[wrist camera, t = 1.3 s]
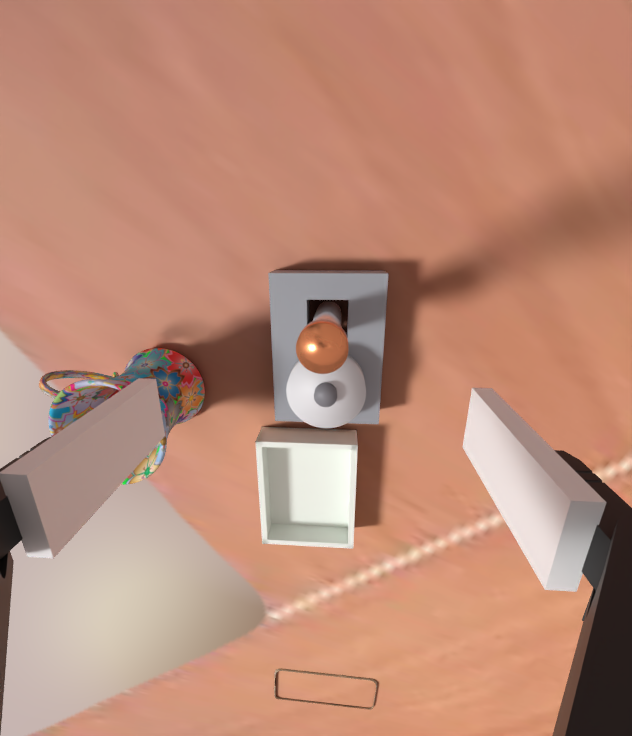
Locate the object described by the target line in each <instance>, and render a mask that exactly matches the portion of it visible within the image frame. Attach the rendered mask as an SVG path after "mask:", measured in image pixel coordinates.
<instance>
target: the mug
mask: <svg viewBox="0 0 632 736" xmlns="http://www.w3.org/2000/svg"><path fill="white" fill-rule="evenodd" d="M59 378H83V379H87V380H81V381H78V382H75V383H73V384H71V385H69V386H67V387H66V388H64V389H63V390H62V391H57V390H55V389H53V388H51V387H50V386H48V385H47V383H46V382H47V381H49V380H53V379H59ZM139 378H142V379H156V382H157V388H158V395H159V401H160V407H161V413H162V420H163V426H164V432H165V436H164V437H163V439H162V440H161V441H160V442H159V443H158V444H157V445H156V446H155V447H154V448H153V450H152V451H151V452H150V453H149V454H148V455H147V456H146V457H145V458H144V459H143V461H142V462H141V463H140V464H139V465H138V466H137V467H136V468H135V469H134V470H133V472H132V473H131V474H130V475H129V476H128V477H127V478H126V479H125V480H124V481H123V483H122V484H121V485H124V484H132V483H136V482H139V481H141V480H144V479H146V478H147V477H149V476H150V475H152V474H153V473H154V472H155V471H156V470H157V469H158V467H159V466H160V465H161V463H162V461H163V459H164V456H165V452H166V444H167V437H168V434H169V432H170V431H171V429H172V428H173V427H174V426H175V425H176V424H180V423H183V422H186V421H188V420H190V419H191V418H193V417H194V416H195V415H196V414H197V413H198V412H199V410H200V409H201V407H202V404H203V401H204V397H205V388H204V383H203V379H202V377H201V375H200V373H199V371H198V370H197V368H196V367H195V366H194V365H193V363H192V362H191V361H189V360H188V359H187V358H186V357H184V356H183V355H181V354H179V353H177V352H175V351H172V350H169V349H164V348H152V349H147V350H144V351H141V352H140V353H138V354H136V355H135V356H134V357H133V358H132V359H131V360H130V361H129V363H128V364H127V366H126V368H125V371H124V373H123V374H121V375H120V376H119V375H118V373H117V372H114V373H113V375H112V376H107V375H103V374H99V373H94V372H87V371H74V370H65V371H55V372H50V373H47V374H45V375H44V376H42V378H41V379H40V383H39V386H40V389H41V390H42V391H43V392H44V393H45V394H46V395H48V396H50V397H52V398H55V399H54V401H53V403H52V405H51V408H50V412H49V428H50V433H51V436H54V435H56V434H57V433H59V432H60V431H62V430H63V429H65V428H66V427H68V426H69V425H71V424H72V423H73V422H75V421H76V420H78V419H79V418H81V417H82V416H84V415H85V414H87V413H88V412H90V411H91V410H93V409H94V408H96V407H97V406H99V405H100V404H102V403H103V402H105V401H106V400H107V399H109V398H110V397H112V396H113V395H115V394H116V393H118V392H119V391H121V390H122V389H124V388H125V387H127V386H128V385H130V384H131V383H133V382H134V381H136V380H137V379H139Z"/></svg>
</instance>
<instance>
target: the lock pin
mask: <svg viewBox="0 0 632 736" xmlns="http://www.w3.org/2000/svg"><path fill="white" fill-rule="evenodd" d="M348 350H349V348H348V338H347V335H346V333H345V331H344V330H343V328H342V327H341V309H340V307H339V306H338V305H337V304H336V303H334V302H332V301H326V302H323V303H321V304H320V305H319V306H318V308H317V310H316V313H315V316H314V319H313V321H312V322H310V323H309V324H307V325H306V326H305V327H304V328H303V330H302V331H301V333H300V335H299V337H298V340H297V343H296V354H297V357H298V359H299V361H300V363H301V364H302V365H303V366H304V367H305V368H306V369H308V370H309V371H311V372H314V373H318V374H328V373H331V372H334V371H336V370H338V369H339V368H340V367H341V366H342V365H343V364H344V362H345V361H346V359H347V356H348Z"/></svg>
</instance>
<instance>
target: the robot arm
mask: <svg viewBox="0 0 632 736" xmlns="http://www.w3.org/2000/svg"><path fill="white" fill-rule="evenodd" d="M164 436H165V432H164V426H163V420H162V413H161V407H160V401H159V395H158V388H157V382H156V379H142V378H139V379H137V380H136V381H134V382H133V383H131V384H130V385H128V386H127V387H125V388H124V389H122V390H121V391H119V392H118V393H116V394H115V395H113V396H112V397H110V398H109V399H107V400H106V401H105V402H103V403H102V404H100V405H99V406H97V407H96V408H94V409H93V410H91V411H90V412H88V413H87V414H85V415H84V416H82V417H81V418H79V419H78V420H76V421H75V422H73V423H72V424H71V425H69V426H68V427H66V428H65V429H63V430H62V431H60V432H59V433H57V434H56V435H54V436H52V437H49V438H47V439H45V440H43V441H42V442H40V443H38V444H37V445H36V446H34V447H32V448H31V449H30V451H27V452H25V453H24V454H22V455H20V456H19V458H16V459H14V460H13V461H11V462H10V463H8V464H7V465H5V466H4V467H3V468H1V469H0V732H1V719H2V706H3V692H4V680H5V667H6V653H7V640H8V626H9V614H10V599H11V587H12V574H13V559H12V556H11V553H10V550H11V549H12V548H13V547H14V546H15V545H17V544H18V543H19V542H20V541H21V540H22V543H23V546H24V548H25V551H26V554H27V556H28V557H39V558H54V557H55V556H56V555H57V554H58V553H59V552H60V551H61V549H62V548H63V547H64V546H65V545H66V544H67V543H68V542H69V541H70V540H71V539H72V537H73V536H74V535H75V534H76V533H77V532H78V531H79V530H80V529H81V528H82V526H83V525H84V524H85V523H86V522H87V521H88V520H89V519H90V518H91V517H92V515H93V514H94V513H95V512H96V511H97V510H98V509H99V508H100V507H101V506H102V504H103V503H104V502H105V501H106V500H107V499H108V498H109V497H110V496H111V494H113V492H114V491H115V490H116V489H117V488H118V487H119V486H120V485H121V484H122V483H123V481H124V480H125V479H126V478H127V477H128V476H129V475H130V474H131V473H132V472H133V470H134V469H135V468H136V467H137V466H138V465H139V464H140V463H141V462H142V461H143V459H144V458H145V457H146V456H147V455H148V454H149V453H150V452H151V451H152V450H153V448H154V447H155V446H156V445H157V444H158V443H159V442H160V441H161V440H162V439H163V437H164ZM463 449H464V451H465V452H466V454H467V456H468V457H469V459H470V461H471V463H472V464H473V466H474V468H475V470H476V471H477V473H478V475H479V476H480V478H481V480H482V482H483V483H484V485H485V487H486V489H487V490H488V492H489V494H490V495H491V497H492V499H493V501H494V502H495V504H496V506H497V508H498V509H499V511H500V513H501V515H502V516H503V518H504V520H505V521H506V523H507V525H508V527H509V528H510V530H511V532H512V534H513V535H514V537H515V539H516V540H517V542H518V544H519V546H520V547H521V549H522V551H523V553H524V554H525V556H526V558H527V560H528V561H529V563H530V565H531V566H532V568H533V570H534V572H535V573H536V575H537V577H538V579H539V580H540V582H541V584H542V585H543V587H544V589H545V590H558V591H574V592H577V589H578V586H579V583H580V580H581V577H582V574H584V575H585V577H586V578H587V579H588V581H589V582H590V584H591V585H592V586H593V591H592V594H591V596H590V599H589V602H588V605H587V608H586V610H585V613H584V616H583V619H582V621H584V622H583V625H582V629H581V633H580V636H579V640H578V644H577V648H576V651H575V655H574V659H573V662H572V666H571V670H570V673H569V677H568V681H567V684H566V688H565V692H564V695H563V699H562V703H561V706H560V710H559V714H558V718H557V721H556V725H555V729H554V732H553V736H632V508H631V507H630V506H629V505H628V504H627V503H626V502H625V501H623V500H622V499H621V498H620V497H619V496H618V495H617V494H616V493H615V492H614V491H613V490H612V489H611V488H609V487H608V486H607V485H606V484H605V483H602V480H601V479H600V478H599V477H598V476H596V475H595V474H593V473H592V471H591V470H590V469H589V468H588V467H587V466H586V465H585V464H584V463H582V462H581V461H580V460H579V459H577V458H575V457H573V456H572V455H570V454H568V453H566V452H565V451H557V450H553V449H552V448H551V447H550V446H549V445H548V444H547V443H546V442H545V441H544V440H543V439H542V438H541V437H540V436H539V435H538V434H537V433H536V432H535V431H534V430H533V429H532V428H531V427H530V426H529V425H528V424H527V423H526V422H525V421H524V420H523V419H522V418H521V417H520V416H519V415H518V414H517V413H516V412H515V411H514V410H513V409H512V408H511V407H510V406H509V405H508V404H507V403H506V402H505V401H504V400H503V399H502V398H501V397H500V396H499V395H498V394H497V393H496V392H495V391H494V390H493V389H492V388H472V392H471V398H470V404H469V411H468V417H467V423H466V429H465V436H464V442H463Z"/></svg>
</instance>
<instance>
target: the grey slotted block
mask: <svg viewBox="0 0 632 736" xmlns="http://www.w3.org/2000/svg"><path fill="white" fill-rule="evenodd" d="M387 288H388V273H387V272H386V271H369V270H274V271H272V272H270V273H269V293H270V315H271V337H272V359H273V382H274V404H275V421H295V422H306V423H307V424H310V425H312V426H315V427H319V428H335V427H339V426H342V425H344V424H346V423H357V424H379V411H380V396H381V381H382V365H383V350H384V335H385V319H386V304H387ZM310 300H348V320H347V333H346V335H347V338H348V348H349V350H348V356H347V359H346V361H345V362H344V364H343V365H342V366H341V367H340V368H339V369H338V370H336V371H334V372H331V373H328V374H318V373H314V372H311V371H309V370H308V369H306V368H305V367H304V366H303V365H302V364H301V363H300V361H299V359H298V357H297V354H296V343H297V340H298V337H299V335H300V333H301V331H302V330H303V328H304V327H305V326H306V325H307V324H309V323H310Z"/></svg>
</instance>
